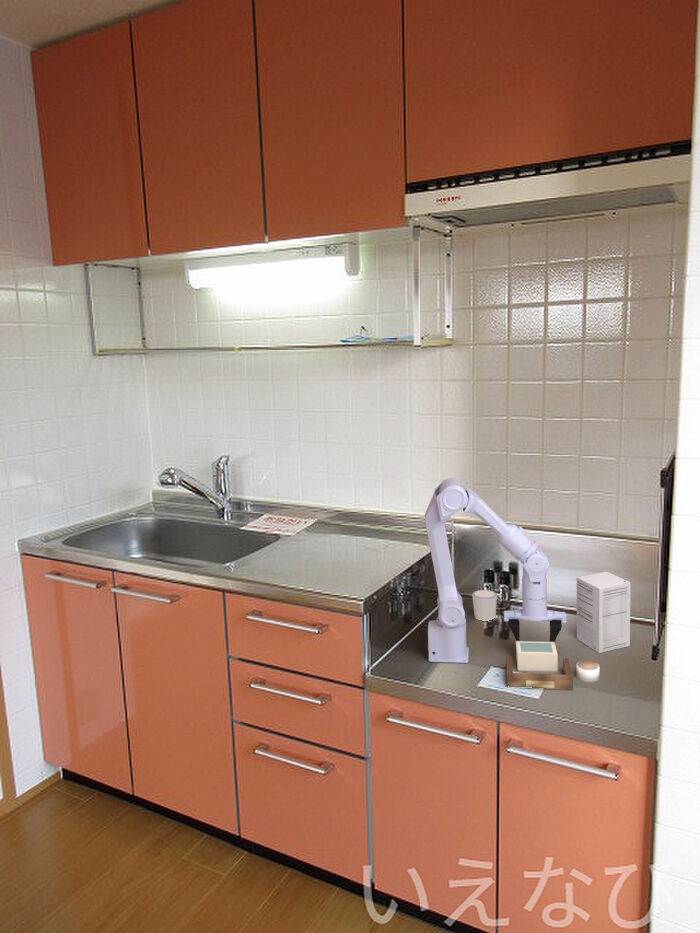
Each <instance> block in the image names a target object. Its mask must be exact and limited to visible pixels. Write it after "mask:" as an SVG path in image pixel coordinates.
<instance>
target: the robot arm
mask: <svg viewBox="0 0 700 933" xmlns="http://www.w3.org/2000/svg"><path fill="white" fill-rule="evenodd" d="M465 487H466V488H465ZM460 511H463V513H465V514H475V515H476V517H478V518H479V519H480V520H482V521H483V523H485V524H486V525H487V526H488V527H489V528H491V530H493V532H494V533H496V534H497V542H498V543H499V544H500V546H502V547H503V548H504V549H505V550H506V551H507V552H508V553H509V554H510V555H511V556H513V558H514V559H516V560H517V561H519V562H520V563H521V564H522V565H523V566H522V577H521V579H522V580H521V583H522V585H521V589H522V593H521V594H522V608H521V609H513V610H503V621H504V622H508V626H509V628H510V631H511V632H512V635H513V637H514V639H515V642H516V641H521V640H520V639H521V638H520V637H521V636H520V632H521V631H520V629H521V628H520V621H524V622H549V641H548V642H556V640H557V638H558V635H559V633H560V632H561V630H562V628H563V626H562V625H563V624H564V623H565V624H566V623H567V614H566V612H565V611H556V610H552V609H550V610H549V609H548V600H547V599H548V598H547V597H548V579H547V571H548V570H549V568H550V565H551V564H550V562H549V559H548V557H547V555H546V553H545V551H544V550H543V548H541V546H540V545H539V544H538V543H537V542H536V540H535V541H533V540H532V539H531V538H530V537H528V535H526V533H525V529H524V528H523V527H522V526H517V525H516V524H514V523H512V524H510V523H509V524H507V523H506V522H505V521H504V520H503V519H502V518H501V517H500V516H499V515H498V514H497V513H496V512H495V510H494V509H492V508H491V507H490V506H489V505H488V504H487V503H486V501H484V500H483V498H481V496H480V495H479V494H478V493H476V492H475V491H474V490H472V488H470V487H468V486H467V485H464V484H463V482H462V481H461V480H459V479H458V478H456V477H447V478H445V479H443V480H442V481H441V482H440V483H439V484H438V485H437V486H436V488H434V491H433V495H432V497H431V498H430V501H429V504H428V506H427V508H426V511H425V513H424V523H425V528H426V533H427V539H428V544H429V549H430V554H431V560H432V566H433V570H434V571H433V572H434V575H435V576H434V577H435V581H436V586H437V592H438V594H437V595H438V597H437V599H436V604H437V608H438V609H437V610H438V616H437V617H436V619H435V620H429V621H428V625H427V640H428V642H427V650H428V662H430V663H431V662H432V663H456V664H457V663H458V664H461V663H462V664H467V663H469V652H470V651H469V649H470V648H469V646H467V619H466V612H465V610H464V605H463V597H462V596H461V594H460V593H459V592H458V589H457V586H456V585H457V584H456V580H455V574H454V569H453V564H452V559H451V552H450V547H449V542H448V537H447V536H448V534H447V532H446V523H447V522H448V521H449V519H450V518H451V517H452V516H453V515H455V514H457V513H459V512H460Z"/></svg>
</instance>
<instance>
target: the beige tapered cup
mask: <svg viewBox="0 0 700 933" xmlns="http://www.w3.org/2000/svg"><path fill="white" fill-rule="evenodd" d="M471 596H472V604H473V612H474V614H473V615H474V619H475V618H476V619H478V620H482V621H488V622H490V621H489V620H492V619H494V618H495V619H496V615H497V614H496V613H497V600H498V593H497V592H496V591H494V590H491V589H490V590H489V589H480V590H475V591H473V592H472V595H471ZM476 619H475V620H476ZM495 619H494V620H495ZM478 620H477V621H478ZM482 621H481V622H482Z"/></svg>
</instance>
